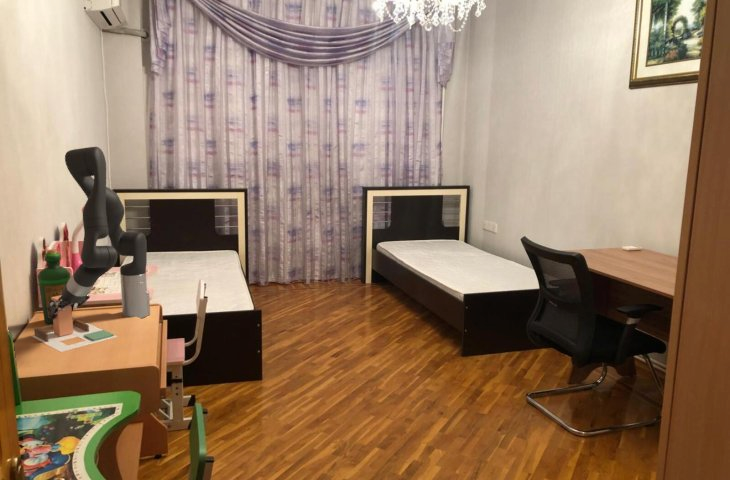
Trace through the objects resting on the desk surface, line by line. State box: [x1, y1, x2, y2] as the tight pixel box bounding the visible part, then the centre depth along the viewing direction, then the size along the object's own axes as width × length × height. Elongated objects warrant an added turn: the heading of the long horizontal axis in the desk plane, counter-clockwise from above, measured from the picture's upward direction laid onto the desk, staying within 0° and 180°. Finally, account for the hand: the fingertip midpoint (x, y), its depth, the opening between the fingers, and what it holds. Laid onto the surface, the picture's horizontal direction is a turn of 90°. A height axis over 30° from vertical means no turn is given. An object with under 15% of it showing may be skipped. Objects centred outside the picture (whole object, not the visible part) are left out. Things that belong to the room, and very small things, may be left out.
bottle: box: [37, 248, 71, 326], centre depth 209 cm, size 11×11×28 cm
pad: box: [84, 329, 115, 341], centre depth 196 cm, size 7×7×1 cm
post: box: [51, 295, 74, 336], centre depth 197 cm, size 4×4×13 cm
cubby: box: [33, 319, 89, 342], centre depth 198 cm, size 14×9×2 cm, turn 141°
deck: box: [31, 322, 118, 353], centre depth 196 cm, size 19×22×1 cm
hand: (59, 315), depth 198 cm, fingers closed on post, 5 cm apart
